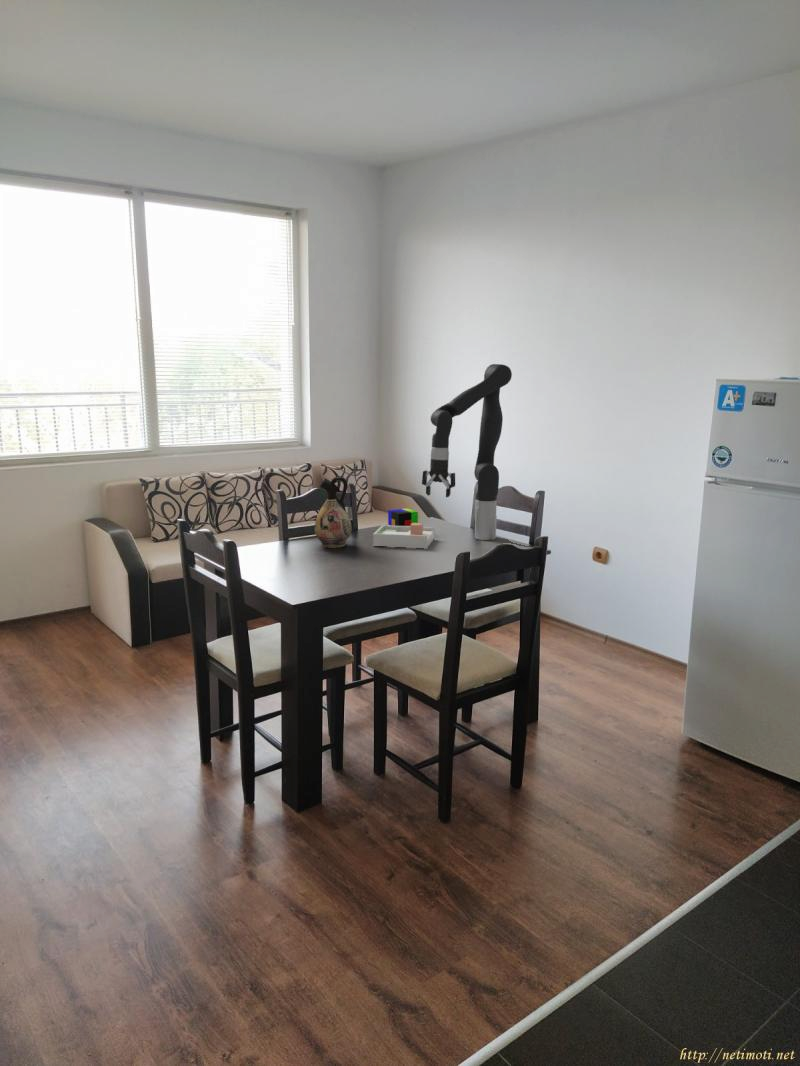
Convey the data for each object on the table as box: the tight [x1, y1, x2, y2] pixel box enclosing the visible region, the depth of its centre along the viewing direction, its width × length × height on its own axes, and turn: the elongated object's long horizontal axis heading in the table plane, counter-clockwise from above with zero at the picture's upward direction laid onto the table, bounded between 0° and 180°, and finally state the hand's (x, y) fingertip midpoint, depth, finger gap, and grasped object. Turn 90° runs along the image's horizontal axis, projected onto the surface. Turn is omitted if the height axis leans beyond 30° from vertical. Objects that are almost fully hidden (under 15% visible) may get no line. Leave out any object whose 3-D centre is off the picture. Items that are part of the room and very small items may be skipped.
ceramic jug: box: [314, 475, 352, 549], centre depth 321 cm, size 17×15×30 cm
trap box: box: [372, 524, 435, 550], centre depth 329 cm, size 23×18×6 cm
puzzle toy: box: [387, 507, 419, 526], centre depth 349 cm, size 10×10×10 cm
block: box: [410, 522, 424, 535], centre depth 327 cm, size 4×4×4 cm
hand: (437, 496), depth 325 cm, fingers open, 8 cm apart
